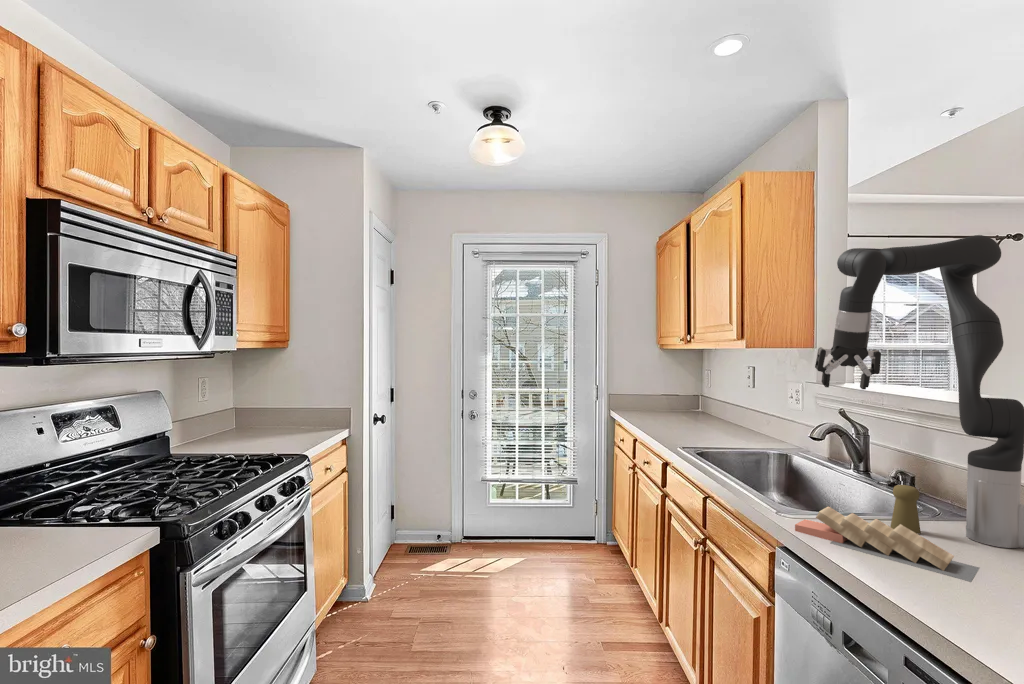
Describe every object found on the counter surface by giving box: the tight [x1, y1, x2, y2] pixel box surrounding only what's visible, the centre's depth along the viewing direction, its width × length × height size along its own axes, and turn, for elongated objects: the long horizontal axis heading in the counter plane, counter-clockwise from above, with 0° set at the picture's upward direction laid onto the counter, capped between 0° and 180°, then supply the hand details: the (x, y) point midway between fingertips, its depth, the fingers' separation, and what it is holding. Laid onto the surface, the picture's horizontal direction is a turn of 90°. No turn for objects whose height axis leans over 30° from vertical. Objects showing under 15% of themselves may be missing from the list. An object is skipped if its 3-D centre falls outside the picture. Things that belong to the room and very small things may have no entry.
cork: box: [889, 484, 921, 535], centre depth 127 cm, size 6×6×11 cm
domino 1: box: [794, 519, 848, 543], centre depth 122 cm, size 2×6×10 cm
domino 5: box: [889, 524, 955, 571], centre depth 108 cm, size 2×6×10 cm
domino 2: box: [815, 506, 867, 547], centre depth 119 cm, size 2×6×10 cm
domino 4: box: [864, 518, 921, 563], centre depth 112 cm, size 2×6×10 cm
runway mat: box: [829, 539, 980, 583], centre depth 111 cm, size 24×10×1 cm, turn 41°
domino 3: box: [840, 512, 894, 556], centre depth 115 cm, size 2×6×10 cm
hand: (844, 387), depth 138 cm, fingers open, 8 cm apart
